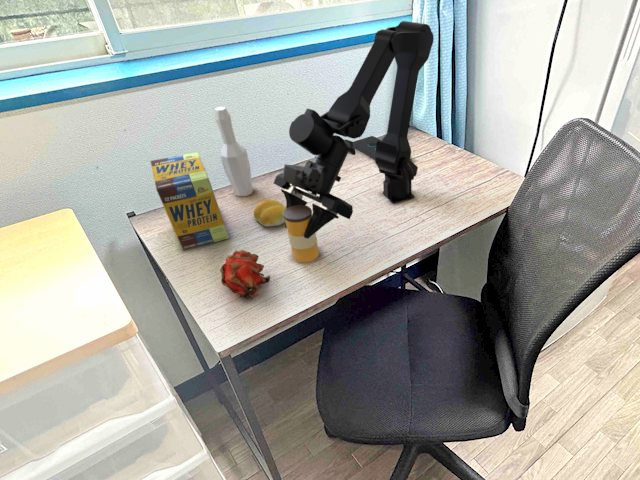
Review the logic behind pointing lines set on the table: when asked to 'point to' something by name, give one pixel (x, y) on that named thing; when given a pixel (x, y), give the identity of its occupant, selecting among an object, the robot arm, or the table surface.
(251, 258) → the dragon fruit
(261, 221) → the bread roll
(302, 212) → the tube
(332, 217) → the robot arm
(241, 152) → the low poly bottle
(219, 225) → the protein box
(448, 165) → the table surface
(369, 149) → the smart home device
